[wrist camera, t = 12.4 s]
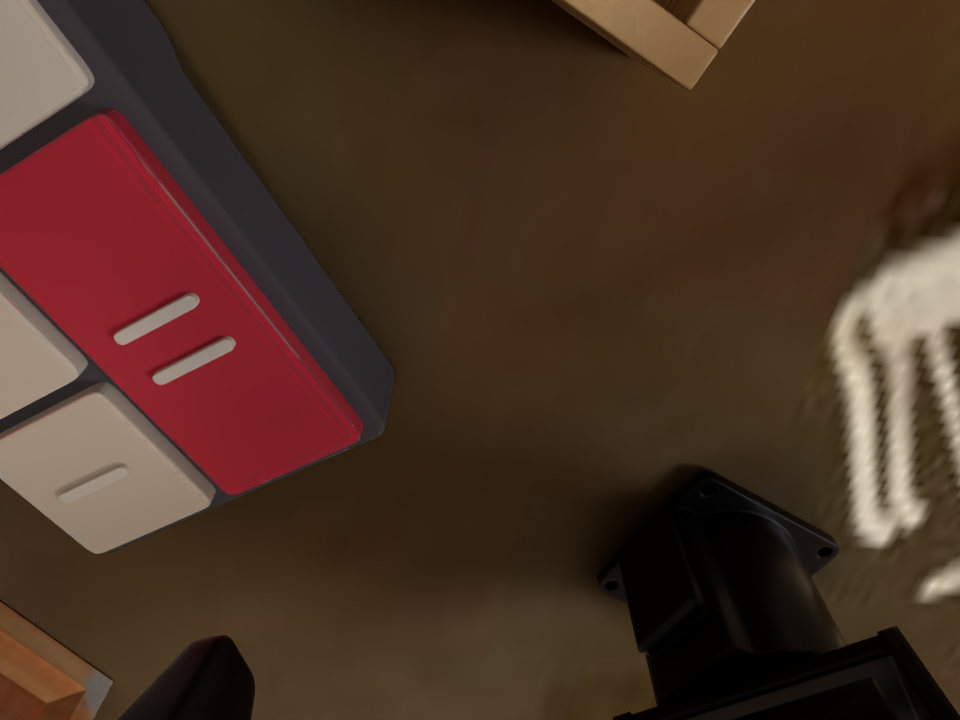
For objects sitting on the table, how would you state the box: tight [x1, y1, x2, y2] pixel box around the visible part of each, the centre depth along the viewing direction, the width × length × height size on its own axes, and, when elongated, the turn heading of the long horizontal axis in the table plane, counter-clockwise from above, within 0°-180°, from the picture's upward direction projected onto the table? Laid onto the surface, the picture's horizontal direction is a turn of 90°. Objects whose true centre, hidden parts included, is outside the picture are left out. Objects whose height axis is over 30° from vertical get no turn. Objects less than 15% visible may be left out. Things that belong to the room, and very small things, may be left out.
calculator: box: [0, 0, 395, 554], centre depth 18 cm, size 11×4×15 cm
